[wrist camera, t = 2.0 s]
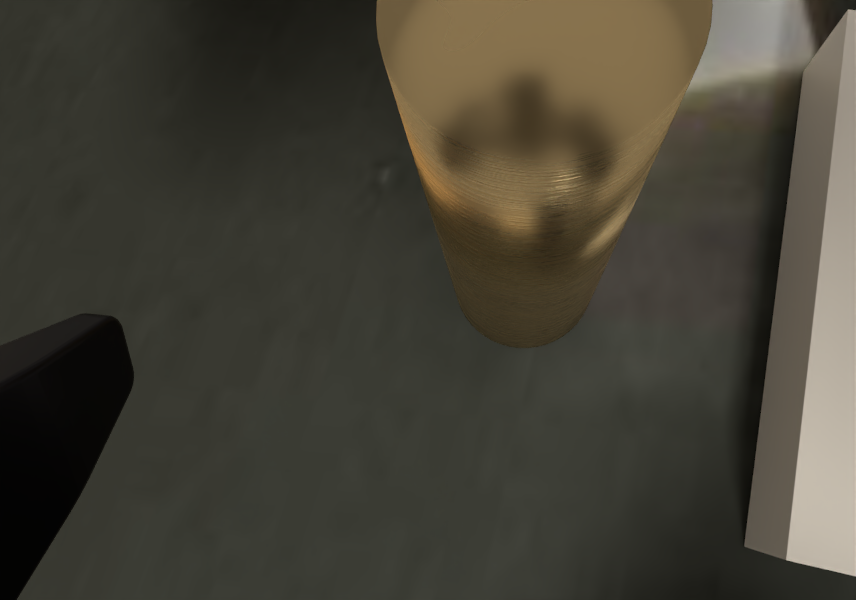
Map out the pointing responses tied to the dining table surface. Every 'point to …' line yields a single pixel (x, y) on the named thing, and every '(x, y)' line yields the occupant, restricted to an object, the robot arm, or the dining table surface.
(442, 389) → the dining table surface
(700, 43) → the brass tube
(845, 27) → the socket block
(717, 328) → the dining table surface
